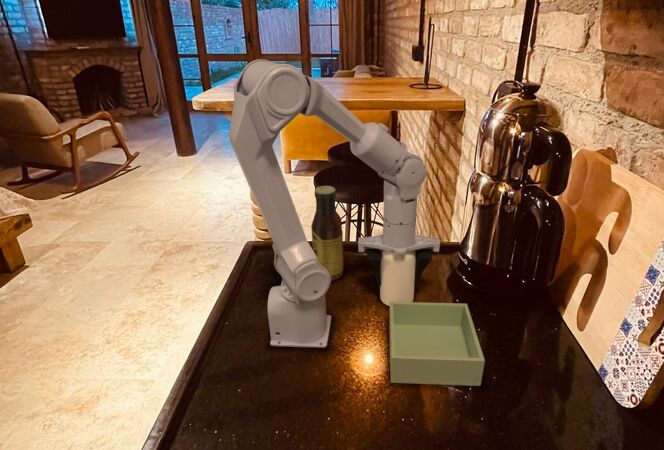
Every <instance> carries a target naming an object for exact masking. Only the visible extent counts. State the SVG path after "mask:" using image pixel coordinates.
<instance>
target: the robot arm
mask: <svg viewBox="0 0 664 450" xmlns="http://www.w3.org/2000/svg"><path fill="white" fill-rule="evenodd" d="M236 79H237V80H236V81H235V83H234V84H233V105H232V111H231V120H230V125H229V133H228V137H229V142H230V145H231V147H232V150H233V152H234V154H235V157H236V159H237V162H238V164H239V166H240V168H241V171H242V172H243V175H244V178H245V180H246V182H247V185H248V187H249V190H250V192H251V194H252V196H253V199H254V202H255V203H256V206H257V208H258V211H259V213H260V215H261V217H262V220H263V222H264V224H265V227H266V229H267V232H268V235H269V236H270V238H271V241H272V245H271V246H272V250H273V253H274V260H273V265H274V269H275V270H276V272H277V273H278V274H279V275H280V276H281V278H282V280H281V284H280V285H275V286H272V287H271V288H270V289H269V292H268V298H267V319H268V325H269V334H270V342H269V344H270V347H286V348H287V347H288V348H316V349H317V348H319V349H324V348H326V347H327V346H328V342H329V335H330V328H331V323H332V315H330V314H327V305H326V304H327V301H326V300H327V299H326V294H327V292H328V291H329V289H330V286H331V283H332V281H331V277H330V274H329V272H328V271H327V270H326V269H325V268H324V267H323V266H321V265H320V263H319V261H318V258H317V256H316V255H315V253H314V251H313V247H312V246H311V245H310V242H309V241H308V239H307V236H306V234H305V231H304V228H303V226H302V223H301V220H300V218H299V215H298V212H297V209H296V207H295V203H294V202H293V199H292V195H291V192H290V190H289V187H288V185H287V181H286V180H285V177H284V175H283V171H282V169H281V166H280V163H279V161H278V158H277V155H276V152H275V149H274V147H273V146H274V143H275V141H276V139H277V138H278V136H279V134H280V133H281V131H282V130H283V129H284V128H286V127H287V125H289V124H290V123H291V122H292V121H293V120H294V119H295V118H297V116H298V115H300V114H301V115H303V116H304V117H312V116H313V117H316V118H317V119H318V120H320V121H322V122H323V123H324V124H325V125H327V126H329V127H330V128H331V129H332V130H334V131H335V132H337V133H338V134H339V135H341V136H343V137H344V138H345V139H347V140H348V141H349V146H350V148H349V149H350V151H351V153H352V154H353V155H354V156H355V157H356V158H358V159H359V160H361V161H362V162H363V163H364V164H366V165H367V166H369V167H370V168H371V169H373V170H374V171H375V172H376V173H377V174H378V176H379V177H380V178H383V217H382V234H378V235H372V236H365V237H364V236H363V237H358V238H357V239H358V242H357V243H358V244H357V246H358V249H357V250H358V253H364V252H365V251H366V259H367V261H368V263H369V265H370V267H371V268H372V271H373V273H374V275H375V279H376V286H378V287H380V286H381V275H380V266H381V250H387V251H393V252H394V253H395V254H406V252H407V251H412V250H415V252H416V262H415V280H414V287H415V286H416V287H417V286H419V283H420V280H421V278H422V275H423V273H424V271H425V270H426V268H427V266H428V265H429V264H430V263H431V261H432V258H433V255H432V252H434V253H439V252H440V247H441V241H440V238H439V237H434V236H433V237H432V236H426V235H425V236H424V235H418V234H416V227H417V223H416V222H417V212H418V211H417V209H418V197H419V195H420V194H421V187H422V184H423V183H424V181H425V179H426V177H427V174H428V169H426V167H425V164H424V161H423V159H422V158H421V157H420V156H419V155H416V154H415V153H412V152H410V151H408V150H407V144H406V143H405V142H404V141H401V140H400V141H398V140H396V138H394V137H393V136H392V135H391V134H390V133H388V131H389V130H390V129H389V127H388V126H387V125H385V124H384V123H381V122H379V123H377V122H373V121H371V122H367V123H366V122H365V123H363V122H362V120H360V119H359V118H358V117H357V116H356V115H355V114H353V112H351V111H350V110H349V109H348V108H347V107H346V106H345V105H344V104H342V103H341V102H340V101H339V100H338V99H337V98H336V97H335V96H334V95H333V94H332V93H330V92H329V90H327V89H326V88H325V87H324V86H322V84H320V83H319V82H318V81H317V80H315V79H314V78H312V77H310V76H309V75H305V74H304V73H303V72H302V71H301V69H299V68H298V67H297V66H294V65H292V64H288V63H278V62H273V61H271V60H270V59H269V60H268V59H264V58H260V59H259V58H258V59H255V60H252V61H250V62H249V63H247V64H246V65H245V66H244V68H243V69H242V71H241V73H240V74H239V76H238V78H236Z"/></svg>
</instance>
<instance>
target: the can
mask: <svg viewBox="0 0 664 450" xmlns="http://www.w3.org/2000/svg"><path fill="white" fill-rule="evenodd" d="M380 256H381V266H380V275H381V286H379V299H380V301H381V302H382V304H384V305H385V306H387V307H389V305H390V302H414V296H415V286H414V280H415V262H416V252H415V250H412V251H407V252H406V254H395V253H394V252H393V251H387V250H380Z"/></svg>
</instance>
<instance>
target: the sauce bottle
mask: <svg viewBox="0 0 664 450" xmlns="http://www.w3.org/2000/svg"><path fill="white" fill-rule="evenodd" d="M336 191H337V190H336V188H335V187H334V186H331V185H320V186H318V187H316V188H315V189H314V197H315V205H316V207H315V213H314V216H313V219H312V222H311V225H310V227H311V241H312V242H311V243H312V249H313V251H314V253H315V255H316V256H317V258H318V261H319V263H320V265H321V266H323V267H324V268H325V269H326V270H327V271H328V272H329V274H330V277H331V282H333V281H337V280H339V279H340V278H341V277H342V276H343V274H344V238H343V236H344V235H343V233H344V232H343V222H342V218H341V215H339V213H338V212H337V210H336V209H337V206H336V196H337V193H336Z"/></svg>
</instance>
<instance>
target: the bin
mask: <svg viewBox="0 0 664 450" xmlns="http://www.w3.org/2000/svg"><path fill="white" fill-rule="evenodd" d="M388 307H389V310H388V312H389V313H388V338H389V339H388V340H389V343H388V344H389V364H390V365H389V369H390V370H389V371H390V372H389V373H390V375H389V376H390V383H391V384H415V385H419V384H420V385H443V386H444V385H445V386H446V385H447V386H469V387H470V386H471V387H472V386H473V387H481V385H482V379H483V373H484V367H485V364H486V363H485V362H486V359H485V357H484V353H483V351H482V347H481V344H480V340H479V338H478V334H477V332H476V329H475V324H474V322H473V318H472V315H471V312H470V309H469V305H468V303H458V302H457V303H456V302H455V303H453V302H417V301H413V302H390V305H389V306H388Z"/></svg>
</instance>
